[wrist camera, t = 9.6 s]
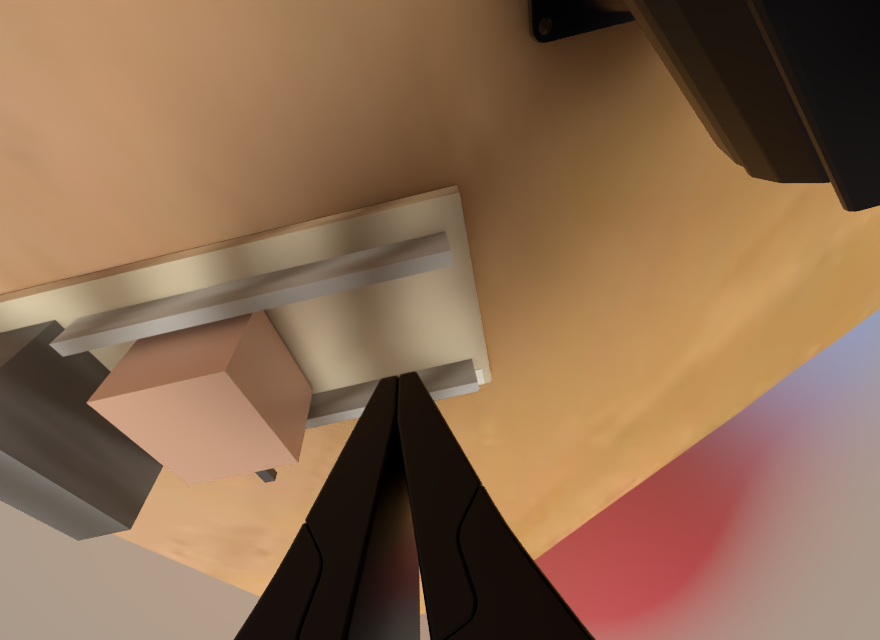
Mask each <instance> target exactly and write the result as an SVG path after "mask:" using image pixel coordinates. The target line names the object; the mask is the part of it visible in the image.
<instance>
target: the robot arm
mask: <svg viewBox="0 0 880 640" xmlns="http://www.w3.org/2000/svg"><path fill="white" fill-rule="evenodd" d="M528 11H529V31H530V35H531V37H532V39H533V40H534V41H536V42H540V43H546V42H550V41H554V40H558V39H562V38H566V37H570V36H574V35H578V34H582V33H586V32H590V31H593V30H597V29H601V28H605V27H609V26H613V25H617V24H621V23H625V22H629V21H633V20H636V21H637V23H638V24H639V26H640V27H641V29H642V30H643V32H644V33H645V35H646V37H647V38H648V40H649V41H650V43H651V44H652V46H653V47H654V49H655V51H656V52H657V54H658V55H659V57H660V58H661V60H662V61H663V63H664V65H665V66H666V68H667V69H668V71H669V72H670V74H671V75H672V77H673V78H674V80H675V82H676V83H677V85H678V86H679V88H680V89H681V91H682V92H683V94H684V96H685V97H686V99H687V100H688V102H689V103H690V105H691V106H692V108H693V110H694V111H695V113H696V114H697V116H698V117H699V119H700V120H701V122H702V123H703V125H704V127H705V128H706V130H707V131H708V133H709V134H710V136H711V137H712V139H713V141H714V142H715V144H716V145H717V146H718V147H719V148H720V149H721V150H722V151H723V152H724V153H725V154H726V155H727V156H728V157H729V158H731V159H732V160H733V161H734V162H735V163H736V164H738V165H741V166H743V167H744V168H745V170H746V172H747V173H748V174H749V175H750V176H751V177H754V178H759V179H764V180H768V181H773V182H778V183H829V182H831V183H832V186H833V188H834V190H835V192H836V194H837V196H838V198H839V201H840V203H841V205H842V207H843V209H844V210H847V211H855V212H856V211H860V210H864V209H868V208H872V207H875V206H879V205H880V0H528ZM544 18H546V19H547V20H548V24H549V26H548V30H547V31H546V33H544V34H543V35H542V34H541V33H540V31H539V24H540V22H541V20H542V19H544ZM305 521H306V523H304V524H302V526H301V528H300V530H299V532H298V534H297V536H296V538H295V539H294V541H293V543H292V545H291V547H290V549H289V550H288V552H287V554H286V556H285V557H284V559H283V561H282V563H281V564H280V566H279V568H278V570H277V572H276V573H275V575H274V577H273V578H272V580H271V581H270V583H269V585H268V586H267V588H266V590H265V591H264V593H263V594H262V596H261V598H260V599H259V601H258V603H257V604H256V606H255V608H254V609H253V611H252V612H251V614H250V615H249V617H248V618H247V620H246V622H245V623H244V625H243V626H242V628H241V629H240V631H239V632H238V634H237V635H236V637H235V639H234V640H420V591H419V567H420V574H421V581H422V587H423V594H424V600H425V607H426V613H427V620H428V626H429V633H430V640H595V638H594V637H593V636H592V635H591V633H590V632H589V631H588V630H587V628H586V627H585V626H584V625H583V624H582V622H581V621H580V620H579V618H578V617H577V616H576V615H575V613H574V612H573V611H572V609H571V608H570V607H569V605H568V604H567V603H566V602H565V600H564V599H563V598H562V596H561V595H560V594H559V593H558V591H557V590H556V589H555V587H554V586H553V585H552V584H551V582H550V581H549V580H548V578H547V577H546V576H545V575H544V573H543V572H542V571H541V569H540V568H539V567H538V565H537V564H536V563H535V562H534V560H533V559H532V558H531V556H530V555H529V554H528V552H527V551H526V550H525V548H524V547H523V546H522V544H521V543H520V541H519V540H518V539H517V537H516V536H515V535H514V533H513V532H512V530H511V529H510V528H509V526H508V525H507V523H506V521H505V520H504V518H503V517H502V515H501V514H500V512H499V510H498V509H497V507H496V506H495V504H494V502H493V501H492V499H491V497H490V496H489V494H488V492H487V490H486V489H485V487H484V486H482V482H481V481H480V479H479V477H478V475H477V474H476V472H475V470H474V469H473V467H472V465H471V463H470V462H469V460H468V458H467V457H466V455H465V453H464V452H463V450H462V448H461V446H460V445H459V443H458V441H457V440H456V438H455V436H454V434H453V433H452V431H451V429H450V428H449V426H448V424H447V422H446V421H445V419H444V417H443V416H442V414H441V412H440V411H439V409H438V407H437V405H436V404H435V402H434V400H433V399H432V397H431V395H430V393H429V392H428V390H427V388H426V387H425V385H424V383H423V381H422V380H421V378H420V376H419V375H418V373H417V372H416V371H412V372H407V373H403V374H400V376H397V375H394V376H390V377H385V378H382V379H381V380H380V381H379V382H378V384H377V386H376V388H375V390H374V392H373V394H372V396H371V397H370V399H369V401H368V403H367V405H366V407H365V409H364V411H363V412H362V414H361V416H360V418H359V420H358V422H357V424H356V426H355V427H354V429H353V431H352V433H351V435H350V437H349V439H348V441H347V442H346V444H345V446H344V448H343V450H342V452H341V454H340V456H339V457H338V459H337V461H336V463H335V465H334V467H333V469H332V470H331V472H330V474H329V476H328V478H327V480H326V482H325V484H324V485H323V487H322V489H321V491H320V493H319V495H318V497H317V499H316V500H315V502H314V504H313V506H312V508H311V510H310V512H309V514H308V515H307V517H306V519H305Z"/></svg>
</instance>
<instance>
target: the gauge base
mask: <svg viewBox="0 0 880 640" xmlns="http://www.w3.org/2000/svg"><path fill="white" fill-rule="evenodd" d="M261 310H264V312H265V314H266V315H267V317H268V319H269V320H270V322H271V323H272V325H273V327H274V328H275V330H276V331H277V333H278V335H279V336H280V338H281V340H282V341H283V343H284V344H285V346H286V348H287V349H288V351H289V352H290V354H291V356H292V357H293V359H294V361H295V362H296V364H297V365H298V367H299V369H300V370H301V372H302V373H303V375H304V377H305V378H306V380H307V381H308V383H309V385H310V386H311V388H312V390H313V393H312V398H311V403H310V408H309V413H308V418H307V422H306V427H305V429H309V428H313V427H318V426H322V425H327V424H331V423H336V422H341V421H345V420H350V419H354V418H359V417H360V416H361V414H362V412H363V411H364V409H365V407H366V405H367V403H368V401H369V399H370V397H371V396H372V394H373V392H374V390H375V388H376V386H377V384H378V382H379V381H380V380H381V379H382V378H385V377H390V376H394V375H397V376H400V374H403V373H407V372H412V371H416V372H417V373H418V375H419V376H420V378H421V380H422V381H423V383H424V385H425V387H426V388H427V390H428V392H429V393H430V395H431V397H432V399H433V400H434V401H436V400H440V399H445V398H450V397H454V396H459V395H463V394H468V393H472V392H477V391H479V386H478V385H481V384H485V383H488V382H492V379H491V373H490V368H489V362H488V356H487V350H486V344H485V338H484V332H483V326H482V321H481V315H480V309H479V303H478V297H477V291H476V285H475V279H474V273H473V268H472V262H471V256H470V250H469V244H468V238H467V232H466V226H465V221H464V215H463V209H462V203H461V197H460V192H459V190H458V187H457V185H455V186H451V187H447V188H443V189H439V190H435V191H430V192H426V193H422V194H418V195H414V196H410V197H406V198H401V199H397V200H393V201H389V202H385V203H381V204H376V205H372V206H368V207H364V208H360V209H356V210H352V211H347V212H343V213H339V214H335V215H331V216H327V217H323V218H318V219H314V220H310V221H306V222H302V223H298V224H293V225H289V226H285V227H281V228H277V229H273V230H269V231H264V232H260V233H256V234H252V235H248V236H244V237H239V238H235V239H231V240H227V241H223V242H219V243H215V244H210V245H206V246H202V247H198V248H194V249H190V250H186V251H181V252H177V253H173V254H169V255H165V256H161V257H156V258H152V259H148V260H144V261H140V262H136V263H132V264H127V265H123V266H119V267H115V268H111V269H107V270H102V271H98V272H94V273H90V274H86V275H82V276H78V277H73V278H69V279H65V280H61V281H57V282H53V283H49V284H44V285H40V286H36V287H32V288H28V289H24V290H19V291H15V292H11V293H7V294H3V295H0V500H1V501H3V502H5V503H7V504H9V505H11V506H12V507H14V508H16V509H18V510H20V511H22V512H24V513H26V514H28V515H30V516H32V517H34V518H36V519H38V520H40V521H41V522H43V523H45V524H47V525H49V526H51V527H53V528H55V529H57V530H59V531H61V532H63V533H64V534H66V535H68V536H70V537H72V538H74V539H76V540H78V541H79V540H83V539H88V538H93V537H97V536H102V535H107V534H111V533H116V532H121V531H125V530H130V529H131V528H132V526H133V524H134V522H135V520H136V518H137V516H138V514H139V512H140V510H141V508H142V506H143V504H144V502H145V500H146V498H147V496H148V495H149V493H150V491H151V489H152V487H153V485H154V483H155V481H156V479H157V477H158V475H159V473H160V471H161V469H162V467H163V465H162V464H161V463H159V462H158V461H157V460H156V459H154V458H153V457H152V456H151V455H150V454H148V453H147V452H146V451H145V450H143V449H142V448H141V447H140V446H139V445H137V444H136V443H135V442H134V441H132V440H131V439H130V438H129V437H128V436H126V435H125V434H124V433H123V432H121V431H120V430H119V429H118V428H117V427H115V426H114V425H113V424H112V423H110V422H109V421H108V420H107V419H106V418H104V417H103V416H102V415H101V414H99V413H98V412H97V411H96V410H95V409H93V408H92V407H91V406H90V405H88V404H87V403H86V402H87V401H88V400H89V399H90V397H91V396H92V395H93V394H94V392H95V391H96V390H97V389H98V388H99V386H100V385H101V384H102V383H103V381H104V380H105V379H106V378H107V376H108V375H109V374H110V373H111V371H112V370H113V369H114V368H115V366H116V365H117V364H118V363H119V362H120V360H121V359H122V358H123V357H124V355H125V354H126V353H127V352H128V350H129V349H130V348H131V347H132V345H133V344H134V343H135V342H136V340H137V339H141V338H145V337H150V336H154V335H158V334H163V333H167V332H171V331H175V330H180V329H184V328H188V327H193V326H197V325H201V324H205V323H210V322H214V321H218V320H223V319H227V318H231V317H236V316H240V315H244V314H248V313H253V312H257V311H261Z"/></svg>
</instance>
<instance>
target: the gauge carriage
mask: <svg viewBox="0 0 880 640" xmlns="http://www.w3.org/2000/svg"><path fill="white" fill-rule="evenodd" d="M312 393H313V390H312V388H311V386H310V385H309V383H308V381H307V380H306V378H305V377H304V375H303V373H302V372H301V370H300V369H299V367H298V365H297V364H296V362H295V361H294V359H293V357H292V356H291V354H290V352H289V351H288V349H287V348H286V346H285V344H284V343H283V341H282V340H281V338H280V336H279V335H278V333H277V331H276V330H275V328H274V327H273V325H272V323H271V322H270V320H269V319H268V317H267V315H266V314H265V312H264V310H261V311H257V312H253V313H248V314H244V315H240V316H236V317H231V318H227V319H223V320H218V321H214V322H210V323H205V324H201V325H197V326H193V327H188V328H184V329H180V330H175V331H171V332H167V333H163V334H158V335H154V336H150V337H145V338H141V339H137V340H136V342H135V343H134V344H133V345H132V347H131V348H130V349H129V350H128V352H127V353H126V354H125V355H124V357H123V358H122V359H121V360H120V362H119V363H118V364H117V365H116V366H115V368H114V369H113V370H112V371H111V373H110V374H109V375H108V376H107V378H106V379H105V380H104V381H103V383H102V384H101V385H100V386H99V388H98V389H97V390H96V391H95V392H94V394H93V395H92V396H91V397H90V399H89V400H88V401H87V402H86V403H87V404H88V405H90V406H91V407H92V408H93V409H95V410H96V411H97V412H98V413H99V414H101V415H102V416H103V417H104V418H106V419H107V420H108V421H109V422H110V423H112V424H113V425H114V426H115V427H117V428H118V429H119V430H120V431H121V432H123V433H124V434H125V435H126V436H128V437H129V438H130V439H131V440H132V441H134V442H135V443H136V444H137V445H139V446H140V447H141V448H142V449H143V450H145V451H146V452H147V453H148V454H150V455H151V456H152V457H153V458H154V459H156V460H157V461H158V462H159V463H161V464H162V465H163V466H164V467H165V468H167V469H168V470H169V471H170V472H172V473H173V474H174V475H175V476H176V477H178V478H179V479H180V480H181V481H183V482H184V483H185V484H186V485H187V486H193V485H198V484H203V483H207V482H212V481H216V480H221V479H226V478H230V477H235V476H239V475H244V474H249V473H253V472H255V473H256V474H257V475H258V476H259V477H260V478H261V479H262V480H263V481H264V482H265V483H266V482H271V481H275V479H276V475H277V472H276V471H275V470H274V469H273V468H276V467H281V466H286V465H290V464H295V463H298V461H299V456H300V452H301V447H302V442H303V437H304V432H305V427H306V422H307V418H308V413H309V408H310V403H311V398H312Z"/></svg>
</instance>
